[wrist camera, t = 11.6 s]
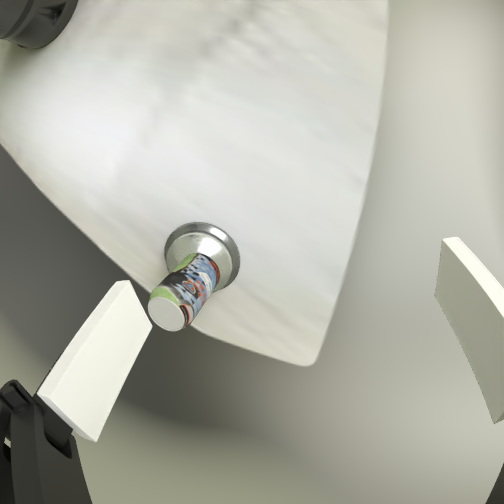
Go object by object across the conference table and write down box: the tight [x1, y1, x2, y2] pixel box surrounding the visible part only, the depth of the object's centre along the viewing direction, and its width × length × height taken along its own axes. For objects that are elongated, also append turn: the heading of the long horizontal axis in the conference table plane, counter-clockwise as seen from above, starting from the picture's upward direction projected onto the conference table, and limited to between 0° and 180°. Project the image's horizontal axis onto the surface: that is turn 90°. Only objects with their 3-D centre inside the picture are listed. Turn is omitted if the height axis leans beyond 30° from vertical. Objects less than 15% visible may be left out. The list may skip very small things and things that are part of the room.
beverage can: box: [148, 253, 220, 331], centre depth 38 cm, size 6×7×12 cm
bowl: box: [165, 222, 240, 292], centre depth 44 cm, size 12×12×2 cm
